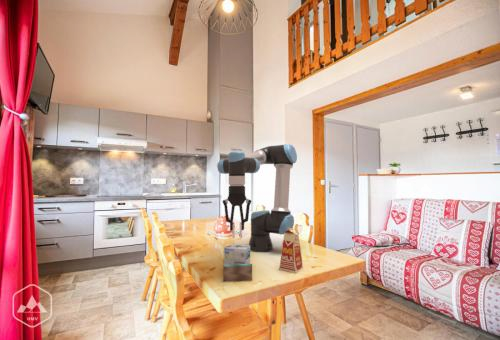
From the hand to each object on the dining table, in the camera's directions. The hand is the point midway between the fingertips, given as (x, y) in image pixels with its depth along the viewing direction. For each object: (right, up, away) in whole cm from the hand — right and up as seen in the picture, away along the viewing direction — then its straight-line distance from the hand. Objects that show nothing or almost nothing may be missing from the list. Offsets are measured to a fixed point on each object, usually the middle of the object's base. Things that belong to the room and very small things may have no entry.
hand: (237, 237), depth 112 cm
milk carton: (+26, -17, +7) cm, 31 cm away
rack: (-1, -17, +6) cm, 18 cm away
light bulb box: (0, -15, -1) cm, 15 cm away
